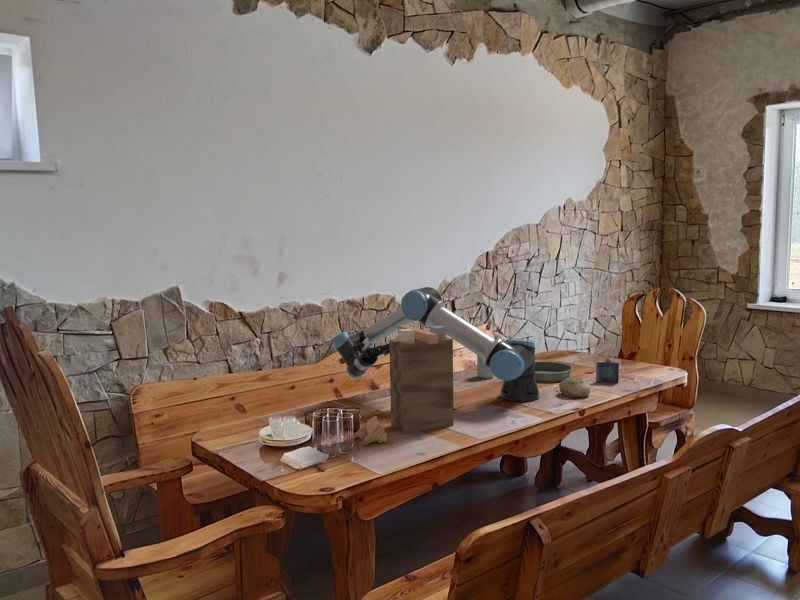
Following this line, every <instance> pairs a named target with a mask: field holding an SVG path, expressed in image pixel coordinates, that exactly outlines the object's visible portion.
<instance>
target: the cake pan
mask: <svg viewBox="0 0 800 600" xmlns="http://www.w3.org/2000/svg"><path fill="white" fill-rule="evenodd" d="M573 369H574V367H573V366H572V365H570V364H568V363H564V362H557V361H548V360H547V361H545V360H543V361H542V360H541V361H540V360H539V361H537V360H536V361H535V381H536V382H546V383H547V382H549V383H550V382H553V383H554V382H562V381H564V380H565V379H566V378H570V375H571V372H572V371H573Z"/></svg>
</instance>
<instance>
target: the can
mask: <svg viewBox="0 0 800 600" xmlns="http://www.w3.org/2000/svg"><path fill="white" fill-rule="evenodd" d="M476 376H477V377H478V378H479V379H483V380H485V379H486V380H487V379H488V380H489V379H492V378H493V377H495V375H494V374H493V373H492V371H491V369H490V368H489V367H487V366H486V365H485V364H484V360H483V359H482V358H481V357H479V356H478V355H476Z"/></svg>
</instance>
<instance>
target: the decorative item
mask: <svg viewBox="0 0 800 600" xmlns="http://www.w3.org/2000/svg"><path fill="white" fill-rule="evenodd" d="M558 386H559V392H560V393H561V394H563V395H565V397H568V398H569V397H570V398H585V397H586V398H587V396H589V395H590V394H591V387H590V386H589V385H587V384H585V383H584V379H583V378H581V377H577V376H572V377H569V378H566V379H565V380H562V381H560V383H559V385H558Z"/></svg>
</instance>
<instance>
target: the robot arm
mask: <svg viewBox="0 0 800 600" xmlns="http://www.w3.org/2000/svg"><path fill="white" fill-rule="evenodd" d="M400 302H401V303H400V308H398V309H396V310H394V311H393V312H391V313H389V314H388V315H386V316H385V317H382V318H381V319H379V320H378V321H376V322H374V323H373V324H371V325H369V326H367V327H365V328H364V329H362V330H361V331H359V332H357V333H355V334H352V335H351V334H349V333H348V332H347V331H342V332H340V333H338V334H337V335H336V336H334V337H333V338H332V340H331V341H332V342H331V343H332V344H333V346H334V348H335V349H336V351H337V352H338V354H339V355H340V357H341V358H342V360H343V361H344V363H345V364H346V372H347V375H348V376H349V377H351V378H353V379H358V378H360V377H362V376H363V375H365V374H366V373H367V371H368V370H369V369H370V368H371V367H373V365H374V364H376V363H377V361H378V358H379V356H382V355H383V356H384V357H386V356H387V355H388V354H389V355H390V345H389V343H386V344H384V345H378V346H375V347H371V346H372V345H373V344H375V343H378V342H379V341H380V340H382V339H384V338H386V337H388V336H390V335H392V334H393V333H395V332H398V325H409V324H410V323H412V322H419V323H421V325H423V326H425V327H430V326H444V327H446V337H448V338H450V339H453V341H455V342H457V343H459V344H460V346H462V347H465V349H468V351H470V352H471V353H473V354H475V355H476V356H477V355H478V356H479V357H481V358H482V359H483V360H484V364H485V365H486V366H487V367H489V368H490V369H491V371H492V373H493V374H494V377H496V378H497V379H499V380H501V381H503V382H502V385H501V388H500V393H499V394H500V398H501V399H503V400H506V401H512V402H532V401H536V400H538V399H539V398H540V391H539V387H538V384H537V381H535V362H536V359H535V358H536V345H535V342H534V340H532V339H522V338H521V339H520V338H519V339H518V338H508V339H506V340H504V339H502V338H500V339H495V338H494V337H491V336H490V335H488V334H487V333H485V332H484V331H482V330H480V329H479V328H478V327H476V326H474V325H473V324H471V323H469V322H468V321H467V320H465V319H463V318H462V317H460V316H458V315H457V314H455V312H453V311H452V310H449V309H448V308H446V307H445V304H444V302H443V300H442V296H441V293H440V292H439V291H438V290H437V289H435V288H434V287H431V286H430V287H429V286H427V287H420V288H417V289H415V288H414V289H411V290H410V291H408V292H406V293H405V294H404V295H403V297H402V298H401V301H400ZM394 339H398V335H397V336H395V338H394Z"/></svg>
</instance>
